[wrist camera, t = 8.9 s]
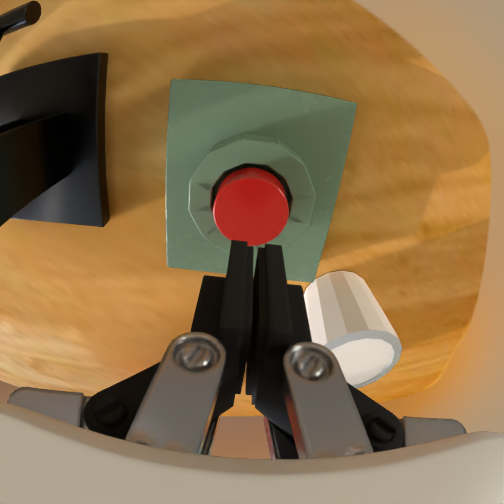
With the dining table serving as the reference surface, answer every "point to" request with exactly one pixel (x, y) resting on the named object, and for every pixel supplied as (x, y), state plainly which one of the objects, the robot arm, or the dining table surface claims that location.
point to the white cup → (351, 326)
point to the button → (251, 206)
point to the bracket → (54, 142)
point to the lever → (19, 18)
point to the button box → (256, 156)
